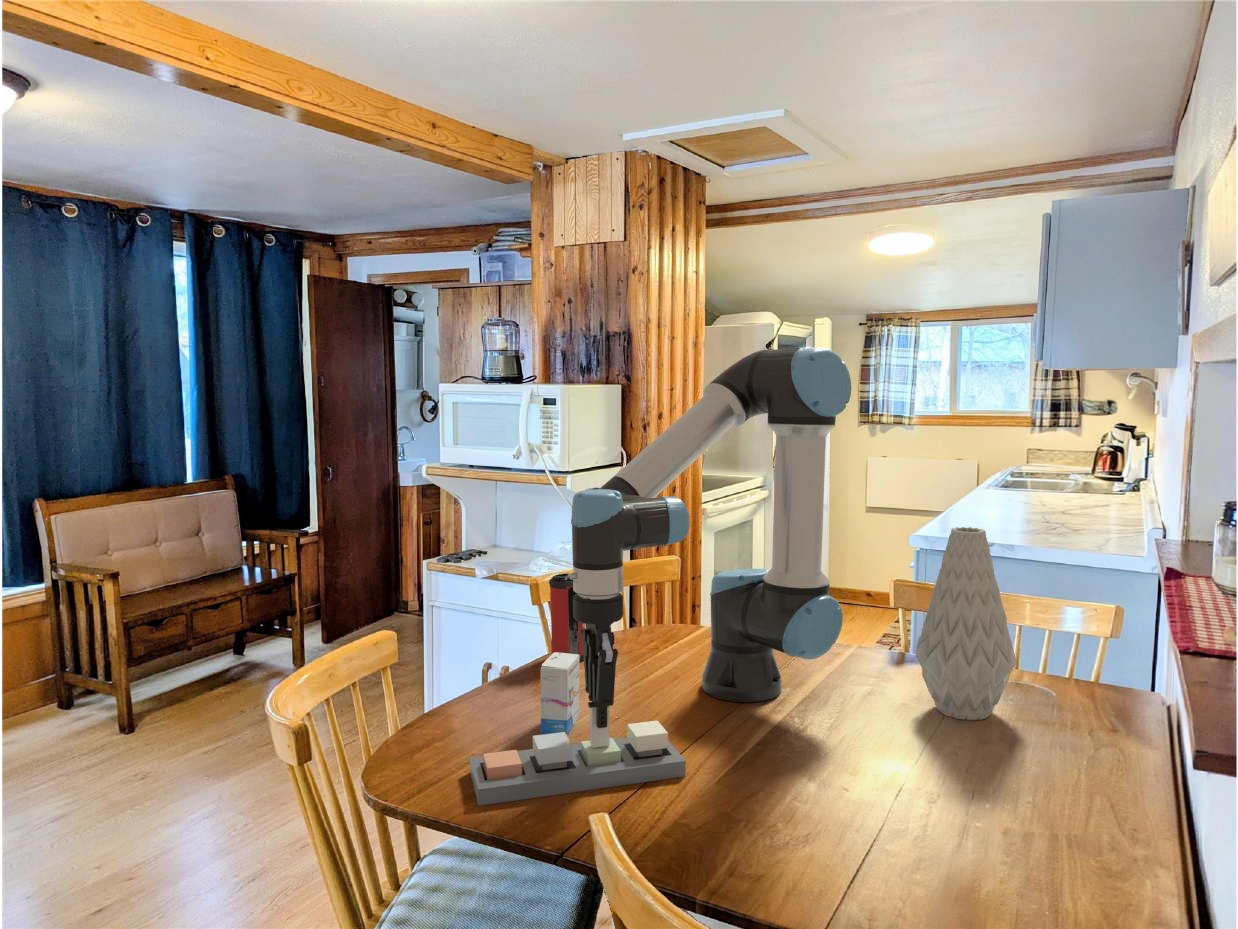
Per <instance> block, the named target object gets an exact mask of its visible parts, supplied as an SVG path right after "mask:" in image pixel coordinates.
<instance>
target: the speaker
mask: <svg viewBox="0 0 1238 929" xmlns="http://www.w3.org/2000/svg"><path fill="white" fill-rule="evenodd" d="M570 573H571V572H570ZM570 573H569V572H568V573H558V574H556V575H552V577H551V578H550V579H549V581H548V584H549V587H550V588H549V589H550V590H549V591H550V619H551V621H550V626H551V628H550V629H551V632H550V633H551V638H550V639H551V641H550V644H551V650H550V651H551V654H550V656H551V655H552V654H553V653H555V652H558V653H568V654H578V655H580V656H579V662H582V661H584V653H583V641H582V634H581V629H582V628H586V624H584V623H581V622H578V621H576V620H575V619H574V616H573V597H574V595H575V594H576V592H574V590H573V580H572V579H570V576H569V574H570Z"/></svg>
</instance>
